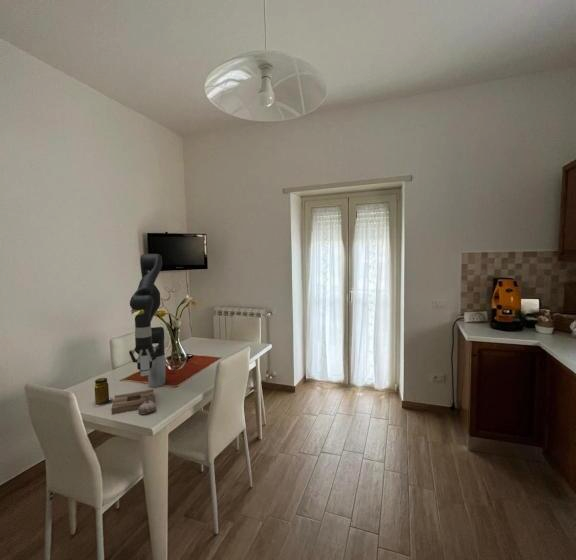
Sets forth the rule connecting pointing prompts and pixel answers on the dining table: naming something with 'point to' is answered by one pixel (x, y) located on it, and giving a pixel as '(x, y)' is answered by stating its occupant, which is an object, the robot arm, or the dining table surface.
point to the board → (131, 401)
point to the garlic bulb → (147, 406)
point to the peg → (144, 365)
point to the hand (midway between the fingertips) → (144, 368)
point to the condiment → (102, 392)
